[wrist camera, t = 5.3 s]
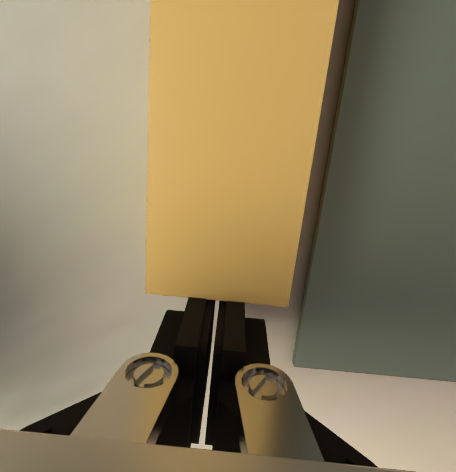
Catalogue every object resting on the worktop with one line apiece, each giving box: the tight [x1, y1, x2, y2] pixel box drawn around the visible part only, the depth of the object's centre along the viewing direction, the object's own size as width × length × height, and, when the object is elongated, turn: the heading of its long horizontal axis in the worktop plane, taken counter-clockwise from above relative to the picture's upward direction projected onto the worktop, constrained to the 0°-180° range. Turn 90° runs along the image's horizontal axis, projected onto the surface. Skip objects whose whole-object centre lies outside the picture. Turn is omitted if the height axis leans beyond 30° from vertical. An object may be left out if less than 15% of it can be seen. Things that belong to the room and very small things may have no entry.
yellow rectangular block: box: [146, 0, 339, 307], centre depth 9 cm, size 15×4×4 cm, turn 175°
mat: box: [292, 0, 456, 382], centre depth 12 cm, size 18×8×1 cm, turn 175°
